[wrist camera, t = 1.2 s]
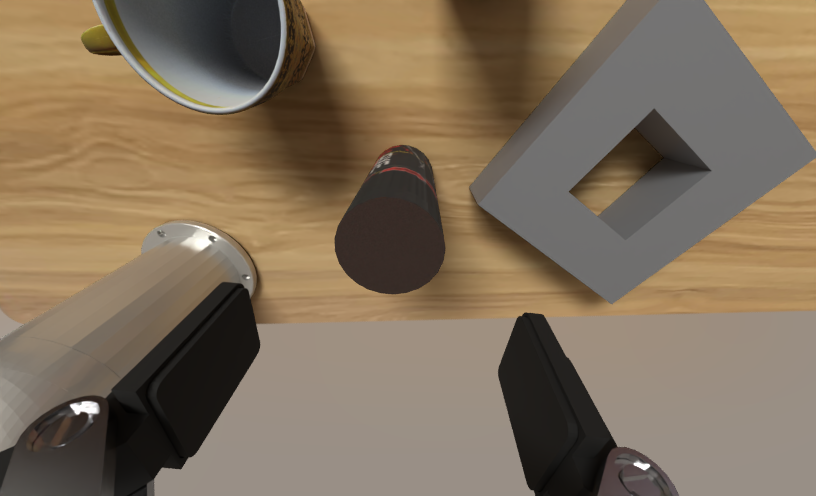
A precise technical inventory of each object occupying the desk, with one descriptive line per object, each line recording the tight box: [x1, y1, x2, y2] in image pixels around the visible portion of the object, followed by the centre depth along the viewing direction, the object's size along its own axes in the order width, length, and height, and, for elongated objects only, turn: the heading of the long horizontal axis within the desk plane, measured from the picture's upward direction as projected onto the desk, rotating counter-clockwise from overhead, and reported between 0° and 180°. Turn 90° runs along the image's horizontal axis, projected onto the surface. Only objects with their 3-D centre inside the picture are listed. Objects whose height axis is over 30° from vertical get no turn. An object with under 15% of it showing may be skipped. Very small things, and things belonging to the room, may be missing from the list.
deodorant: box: [335, 145, 445, 294], centre depth 22 cm, size 6×6×15 cm
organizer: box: [469, 0, 816, 304], centre depth 25 cm, size 18×18×5 cm
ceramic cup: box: [81, 0, 316, 115], centre depth 19 cm, size 13×10×10 cm
